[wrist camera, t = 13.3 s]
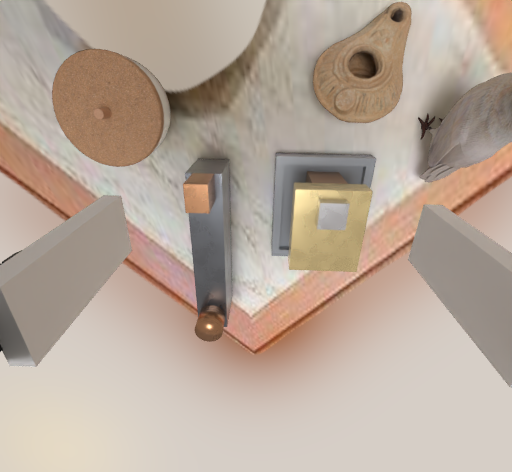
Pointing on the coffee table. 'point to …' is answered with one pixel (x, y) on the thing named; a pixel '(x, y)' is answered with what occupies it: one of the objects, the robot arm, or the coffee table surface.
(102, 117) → the lidded jar
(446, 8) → the coffee table surface
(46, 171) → the coffee table surface
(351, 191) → the lever cap
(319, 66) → the pottery oil lamp
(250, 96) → the coffee table surface
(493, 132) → the bird
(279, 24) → the coffee table surface
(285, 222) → the tray
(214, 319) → the plane
